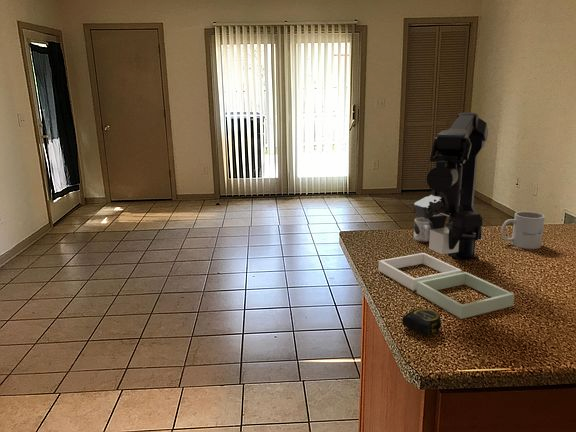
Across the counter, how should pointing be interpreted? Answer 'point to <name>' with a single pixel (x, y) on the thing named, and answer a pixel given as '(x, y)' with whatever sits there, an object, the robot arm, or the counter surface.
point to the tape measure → (422, 321)
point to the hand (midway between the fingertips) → (444, 246)
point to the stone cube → (441, 241)
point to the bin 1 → (392, 264)
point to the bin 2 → (497, 302)
